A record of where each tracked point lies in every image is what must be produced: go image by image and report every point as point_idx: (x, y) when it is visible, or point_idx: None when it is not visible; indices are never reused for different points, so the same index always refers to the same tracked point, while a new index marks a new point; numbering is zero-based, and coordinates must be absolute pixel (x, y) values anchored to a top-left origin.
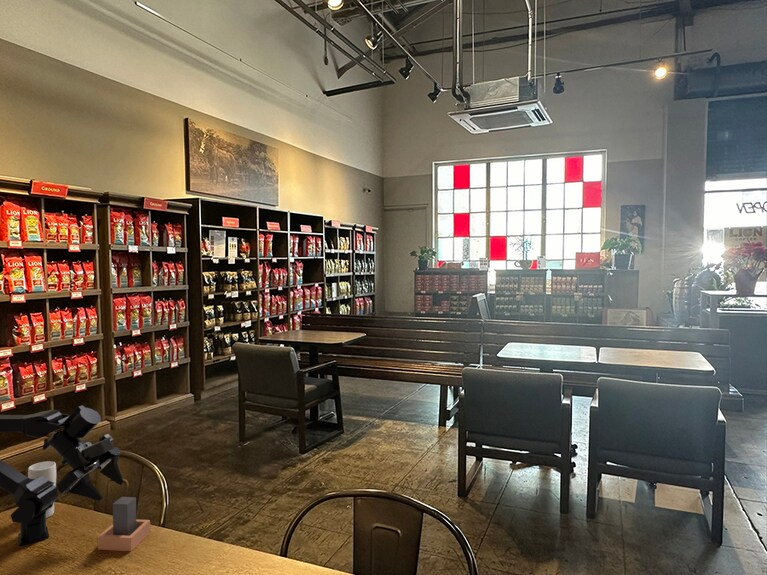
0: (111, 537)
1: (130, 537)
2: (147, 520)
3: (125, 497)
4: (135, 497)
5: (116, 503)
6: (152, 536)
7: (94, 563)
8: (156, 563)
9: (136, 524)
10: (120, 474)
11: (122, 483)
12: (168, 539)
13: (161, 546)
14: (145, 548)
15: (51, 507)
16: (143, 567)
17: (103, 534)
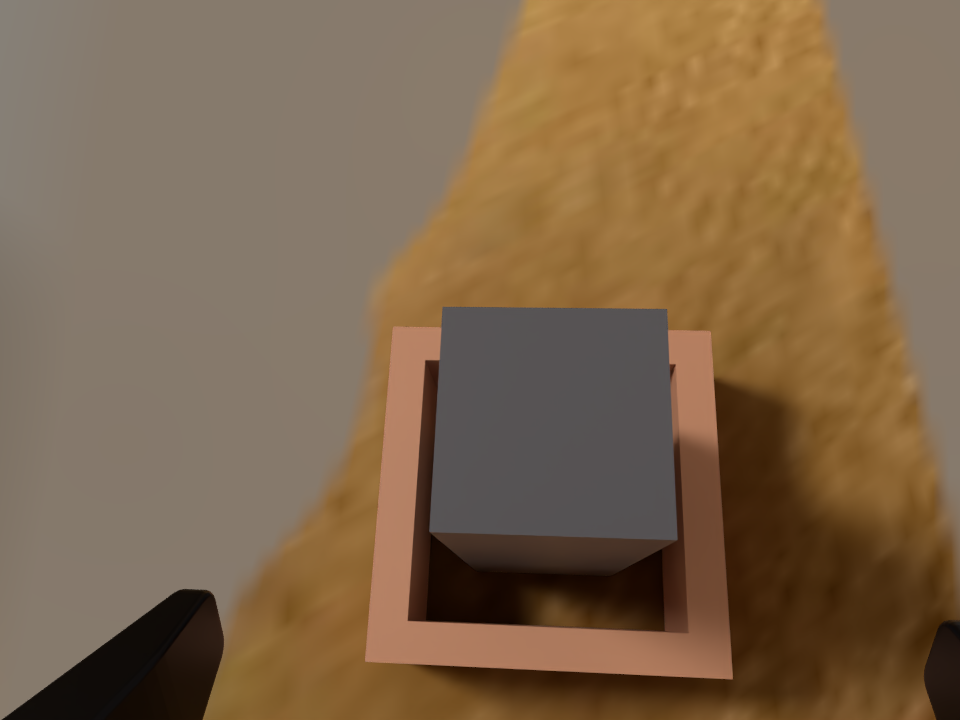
0: (720, 524)
1: (700, 342)
2: (401, 346)
3: (455, 456)
4: (447, 312)
5: (657, 486)
6: None
7: (892, 570)
8: (795, 131)
9: (425, 447)
10: (35, 709)
11: (214, 606)
12: (502, 190)
13: (595, 194)
14: (633, 288)
15: None
16: (855, 186)
17: (691, 637)
